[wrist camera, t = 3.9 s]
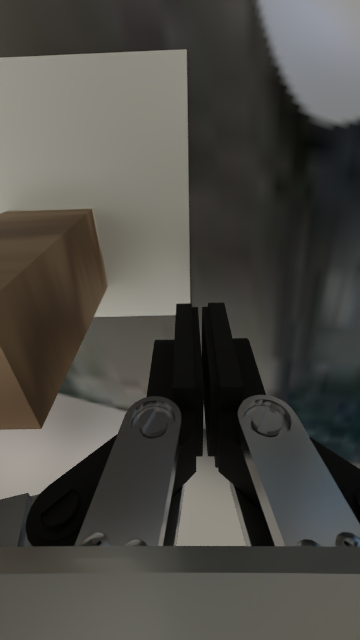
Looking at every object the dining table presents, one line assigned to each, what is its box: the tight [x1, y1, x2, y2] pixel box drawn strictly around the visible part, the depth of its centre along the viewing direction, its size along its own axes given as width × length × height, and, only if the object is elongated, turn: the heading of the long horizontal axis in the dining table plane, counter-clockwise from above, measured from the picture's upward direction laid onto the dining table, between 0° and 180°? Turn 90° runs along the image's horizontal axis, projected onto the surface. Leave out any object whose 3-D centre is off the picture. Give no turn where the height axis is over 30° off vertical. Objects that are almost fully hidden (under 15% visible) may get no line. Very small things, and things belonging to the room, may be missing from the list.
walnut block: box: [0, 208, 108, 429], centre depth 13 cm, size 5×5×11 cm
